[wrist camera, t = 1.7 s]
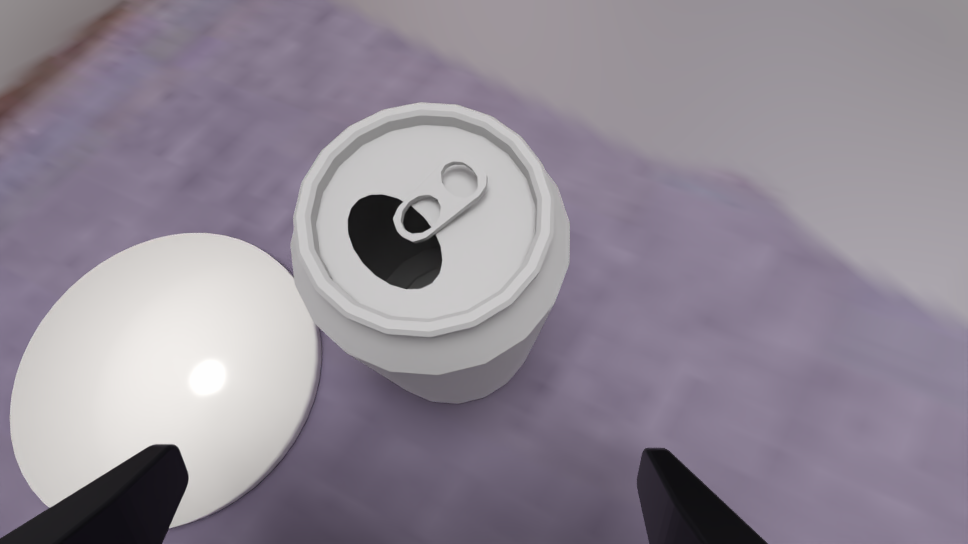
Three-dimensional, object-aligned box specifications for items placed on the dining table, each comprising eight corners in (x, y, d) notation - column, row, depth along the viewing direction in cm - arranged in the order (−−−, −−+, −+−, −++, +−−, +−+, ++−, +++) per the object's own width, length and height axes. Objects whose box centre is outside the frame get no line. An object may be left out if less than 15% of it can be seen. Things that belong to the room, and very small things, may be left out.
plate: (142, 606, 18) (123, 615, 17) (-24, 382, 21) (-47, 380, 20) (379, 358, 21) (375, 354, 21) (208, 194, 24) (197, 185, 24)
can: (344, 315, 22) (200, 188, 11) (464, 223, 24) (446, 30, 13) (443, 441, 20) (390, 444, 9) (566, 332, 22) (651, 217, 11)
